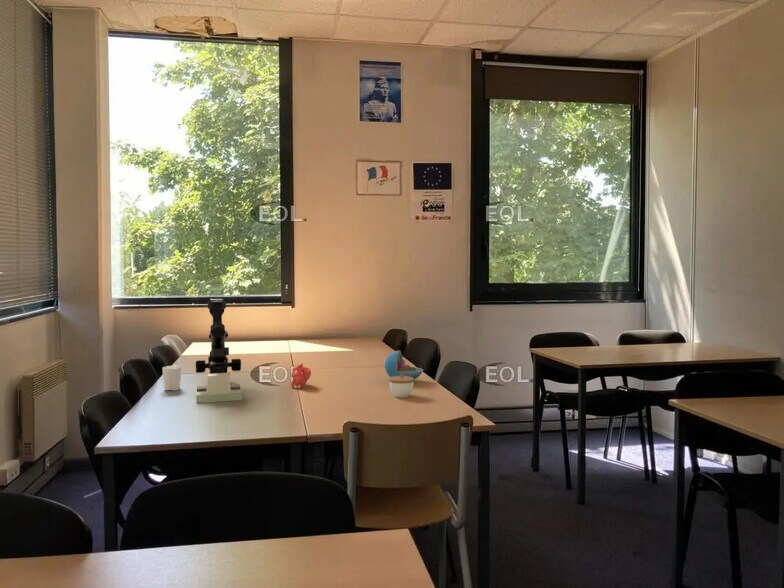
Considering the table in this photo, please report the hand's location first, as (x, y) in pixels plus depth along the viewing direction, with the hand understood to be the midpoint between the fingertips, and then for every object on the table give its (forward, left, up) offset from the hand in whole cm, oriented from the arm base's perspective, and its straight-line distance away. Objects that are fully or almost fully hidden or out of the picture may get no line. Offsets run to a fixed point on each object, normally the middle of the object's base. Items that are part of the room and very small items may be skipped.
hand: (218, 382), depth 254 cm
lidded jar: (-42, +65, -7) cm, 78 cm away
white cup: (-2, -30, -7) cm, 31 cm away
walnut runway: (-4, -4, -7) cm, 9 cm away
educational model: (-70, +52, -7) cm, 87 cm away
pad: (+2, +2, -7) cm, 7 cm away
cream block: (+2, +2, -4) cm, 5 cm away
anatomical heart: (-36, +16, -7) cm, 40 cm away
